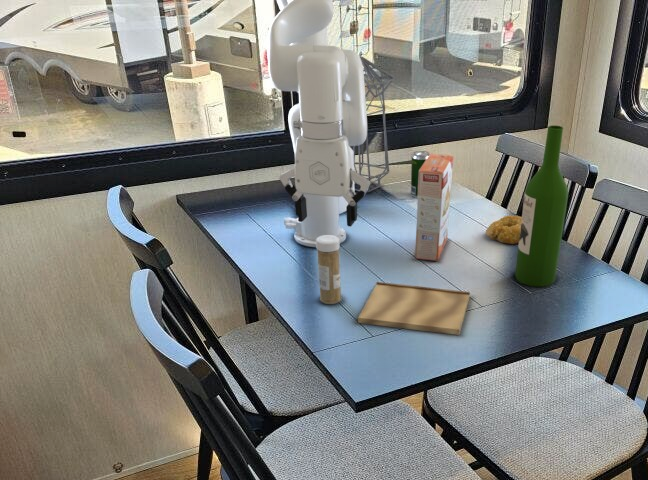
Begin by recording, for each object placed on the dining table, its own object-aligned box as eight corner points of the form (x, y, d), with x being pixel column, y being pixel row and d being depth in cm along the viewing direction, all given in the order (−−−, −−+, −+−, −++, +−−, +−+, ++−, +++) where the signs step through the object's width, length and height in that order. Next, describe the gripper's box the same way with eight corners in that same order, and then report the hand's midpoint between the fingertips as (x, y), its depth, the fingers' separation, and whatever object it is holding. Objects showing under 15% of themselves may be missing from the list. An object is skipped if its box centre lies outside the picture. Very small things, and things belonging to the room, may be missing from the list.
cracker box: (439, 262, 158) (444, 172, 146) (414, 259, 159) (416, 169, 147) (449, 239, 170) (454, 154, 158) (425, 237, 170) (428, 152, 159)
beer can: (419, 200, 193) (421, 157, 186) (406, 195, 196) (407, 152, 189) (433, 196, 196) (435, 153, 189) (420, 191, 199) (421, 149, 192)
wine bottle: (507, 273, 154) (524, 123, 136) (541, 267, 158) (562, 120, 139) (527, 289, 148) (548, 134, 129) (562, 283, 151) (587, 131, 132)
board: (357, 322, 134) (357, 316, 133) (377, 287, 147) (377, 281, 146) (459, 335, 131) (459, 328, 130) (469, 297, 144) (470, 291, 143)
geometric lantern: (367, 199, 192) (365, 64, 172) (323, 188, 199) (317, 56, 179) (399, 185, 203) (400, 56, 183) (356, 175, 210) (353, 49, 190)
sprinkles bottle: (344, 302, 141) (342, 241, 133) (323, 306, 139) (320, 244, 131) (337, 293, 144) (334, 232, 136) (316, 297, 142) (312, 236, 135)
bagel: (484, 229, 176) (485, 211, 173) (526, 231, 176) (529, 213, 173) (486, 244, 168) (487, 226, 165) (531, 246, 168) (533, 227, 165)
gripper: (268, 130, 120) (277, 224, 130) (363, 137, 118) (365, 232, 127) (283, 121, 126) (290, 211, 136) (374, 127, 124) (375, 219, 133)
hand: (326, 221), depth 132 cm, fingers open, 9 cm apart
